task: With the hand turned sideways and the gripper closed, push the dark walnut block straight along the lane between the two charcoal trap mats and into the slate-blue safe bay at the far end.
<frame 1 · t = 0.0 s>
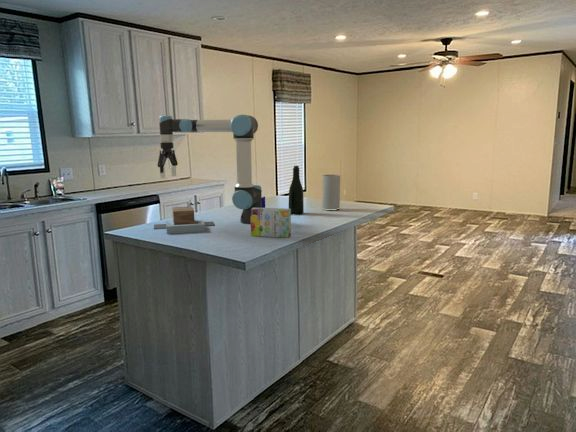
hand: (168, 177, 269), 28 cm above the countertop, tool pointing down, fingers open, 13 cm apart
trap mats: (184, 225, 264), on the countertop
safe bay: (185, 228, 256), on the countertop
puzzle cube: (256, 211, 316), on the countertop
beer bottle: (296, 213, 304), on the countertop
snack box: (270, 236, 236), on the countertop
walnut block: (183, 223, 271), on the countertop
cylinder vase: (330, 210, 320), on the countertop
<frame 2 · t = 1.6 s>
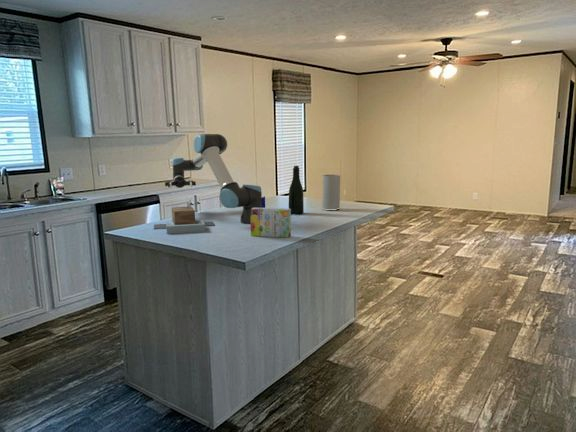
hand: (181, 185, 278), 22 cm above the countertop, tool horizontal, fingers open, 12 cm apart
nothing on the countertop moved.
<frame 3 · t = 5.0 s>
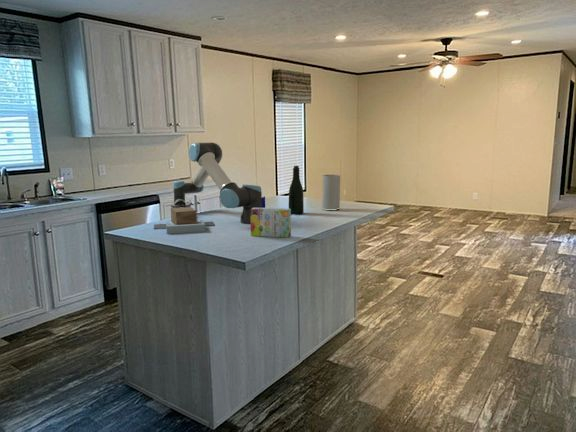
hand: (181, 211, 276), 6 cm above the countertop, tool horizontal, fingers closed
walnut block: (183, 223, 270), on the countertop
everything else where it was.
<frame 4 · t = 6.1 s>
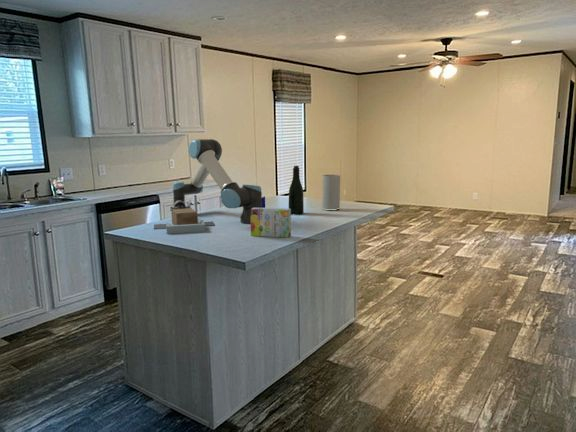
hand: (181, 212, 271), 6 cm above the countertop, tool horizontal, fingers closed
walnut block: (184, 225, 264), on the countertop, touching gripper
everything else where it was.
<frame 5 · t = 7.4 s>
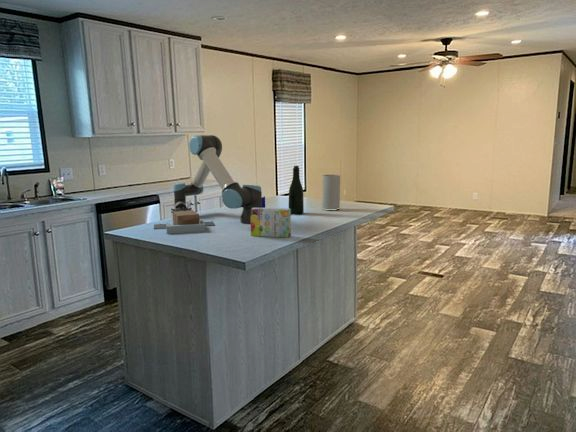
hand: (182, 214, 264), 6 cm above the countertop, tool horizontal, fingers closed
walnut block: (186, 228, 257), on the countertop
everything else where it was.
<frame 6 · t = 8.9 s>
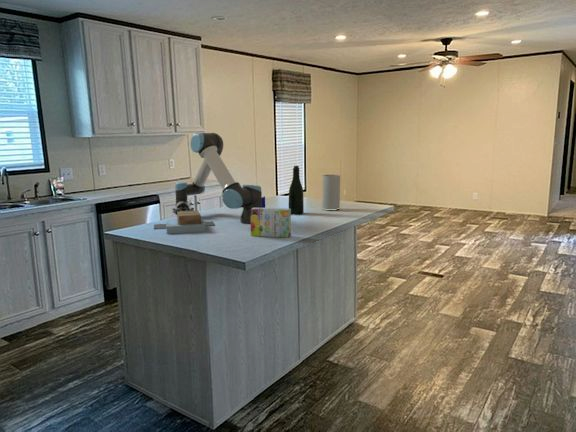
hand: (185, 214, 261), 7 cm above the countertop, tool horizontal, fingers closed on walnut block, 2 cm apart
walnut block: (189, 228, 255), on the countertop, touching gripper, safe bay
everything else where it was.
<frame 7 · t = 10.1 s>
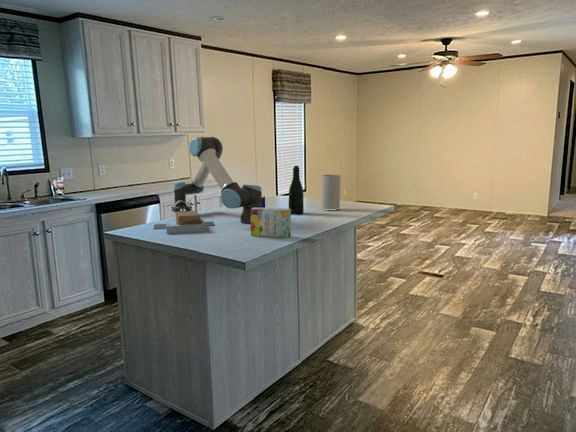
hand: (183, 212, 268), 7 cm above the countertop, tool horizontal, fingers closed
walnut block: (188, 228, 256), on the countertop
everything else where it was.
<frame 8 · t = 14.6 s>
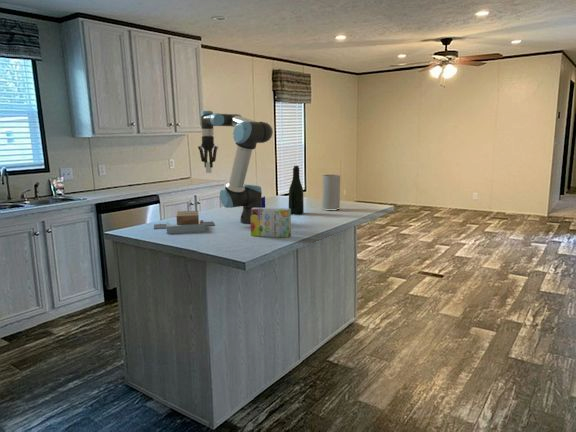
hand: (208, 172, 285), 29 cm above the countertop, tool pointing down, fingers closed
at the end: walnut block inside the target area on the safe bay (2.1 cm from its centre), point 0.0 cm above the safe bay's base; walnut block tilted 0°; walnut block touching countertop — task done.
